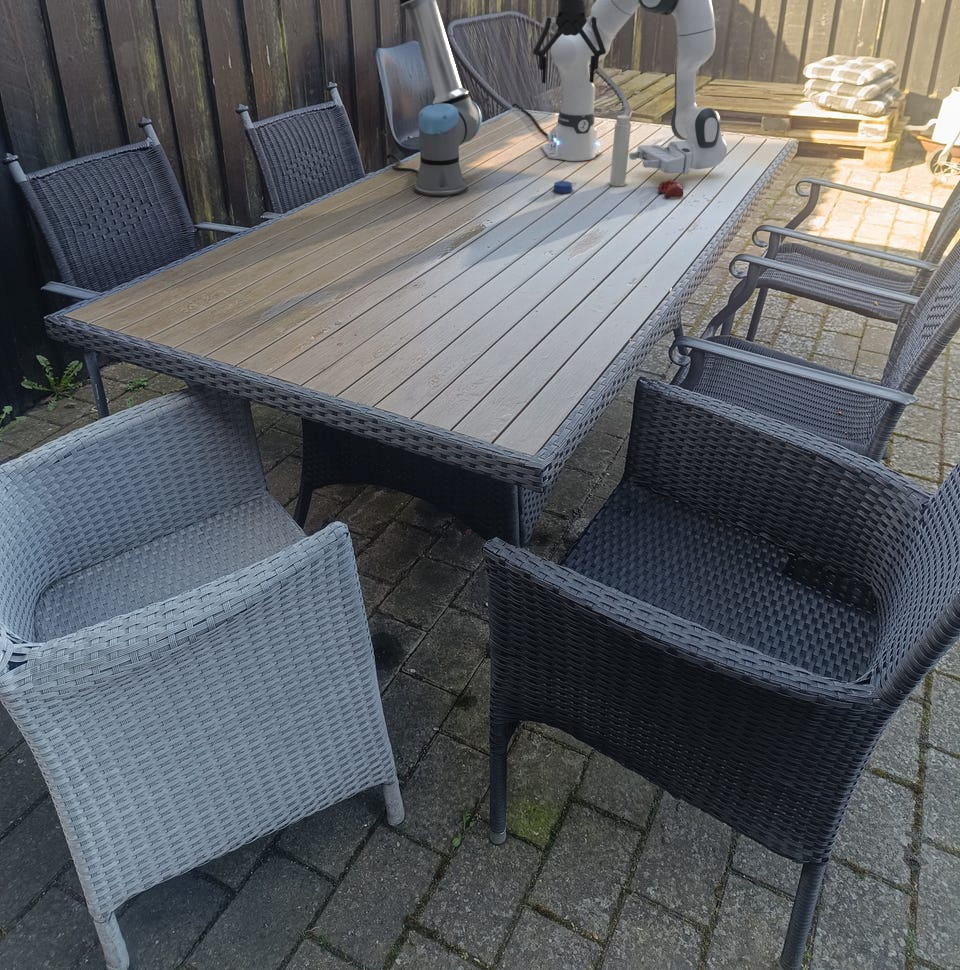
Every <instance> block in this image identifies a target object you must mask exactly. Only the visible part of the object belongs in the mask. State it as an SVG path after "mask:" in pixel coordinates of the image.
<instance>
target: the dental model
mask: <svg viewBox="0 0 960 970" xmlns="http://www.w3.org/2000/svg"><path fill="white" fill-rule="evenodd" d="M657 189H658V190H657V191H658V192H657V193H658V194H659V193H664V198H665V199H670V198H680V197H683V196H684V189H683V188H682V185H681V183H679V182H676V181H674V180H673V179H665V180H663V181H661V182H660V183H659V185H658V188H657Z"/></svg>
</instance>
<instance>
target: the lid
mask: <svg viewBox="0 0 960 970" xmlns="http://www.w3.org/2000/svg"><path fill="white" fill-rule="evenodd" d="M572 191H573V182H571V181H567V180H559V181H555V182H553V192H555V193H556V194H560V195H561V194H562V195H564V194H571V193H572Z"/></svg>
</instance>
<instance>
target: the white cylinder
mask: <svg viewBox="0 0 960 970" xmlns="http://www.w3.org/2000/svg"><path fill="white" fill-rule="evenodd" d="M631 128H632V123H631V116H630V115H625V114H624V115H623V114H622V115H621V114H620V115H617V116H616V122H615V123H614V129H613V130H614V132H613V142H612V153H611V154H612V155H611V166H610V168H611V169H610V177H609V185H610V186H612V187H624V186H626V178H627V169H628V159H629V148H630V140H631V139H630V138H631Z"/></svg>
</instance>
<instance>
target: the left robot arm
mask: <svg viewBox="0 0 960 970" xmlns="http://www.w3.org/2000/svg"><path fill="white" fill-rule="evenodd" d="M399 3H400V7H402V8H403V9H405V10H406V11H408V12H407V13H408V14H409V17H410V18H409V19H410V21H411V24H412V28H413V31H414V34H415V36H416V39H417V43H418V46H419V49H420V53H421V56H422V59H423V62H424V65H425V68H426V71H427V74H428V77H429V80H430V85H431V88H432V91H433V94H434V98H433V102H432V104H429V105H427V106H425V107H422V109H421V110H420V111H419V113H418V122H417V124H418V136H419V138H418V139H419V157H420V158H419V159H420V161H419V162H420V164H419V168H418V170H417V169H415V168H411V167H399V165H400V163H401V160H400V159H399V157H398V156H397V155H395V154H393V153H388V154H387V155H386V159H390V158H393V159H394V160H395V161H396V162H395V163H393V164H392V165H394V164H395V165H394V166H391V168H392V169H393V170H395V171H399V172H411V173H415V174H417V176H416V180H415V185H414V186H415V192H417V193H418V194H420V195H424V196H430V197H450V196H455V195H459V194H461V193H463V192H464V191H466V181H465V179H464V176H463V172H462V169H461V165H460V146H461V145H463V144H465V143H468V142H470V141H471V140H472V139H473V138H474V137H476V136H477V135H478V133H479V132H480V130H481V128H482V125H483V115H482V112H481V109H480V106H478V104H477V103H476V102H475V101H473V99H472V98H471V95H470V92H469V90H468V89H466V88H464V87H463V85H462V82H461V79H460V75H459V73H458V69H457V66H456V63H455V59H454V55H453V51H452V49H451V46H450V44H449V39H448V36H447V32H446V28H445V26H444V23H443V19H442V16H441V13H440V10H439V6H438V2H437V0H399ZM586 6H587V0H557V15H556V17H551V16H549V15H547V16H546V17H545V20H544V21H545V22H544V26H543V28H542V31H541V32H540V35H539V37H538V38H537V40H536V43H535V45H534V47H533V49H532V53H533V55H534V56H537V57H538V69H539V71H542V73H541V83H542V84H546V82H547V56H546V55H547V53H548V52H549V51H550V50H551V47H552V45H553V44H554V43H555V42H556V40H557V39H558V38H559V37H560V36H561V35H562V34H563V35H565V36H568V35H573V36H575V35H577V34H580V35H581V36H582V38H583V39H584V41H585V42H586V44H587V45H588V47H589V48H590V49H591V51H592V52H593V54H594V56H591V64H590V65H589V73H590V79H589V81H590V83H593V84H594V79H595V78H594V77H595V70H598V69H599V62H600V61H599V56H600V55H603V54H605V53H606V50H605V48H604V45H603V42H602V39H601V37H600V34H599V31H598V29H597V23H596V17H594V16H592V17H589V16H588V17H587V16H586ZM586 22H587V23H588V24H589V26H591V27H592V30H593V33H594V36H595V38H596V41H597V44H598V46H599V49H600V50H598V51H597V50H596V48H595V47H594V45H593V44H592V42H591V41H590V39H589V38H588V36H587V35H586V34H585V32H584V31H583V29H582V28H583V27H584V25H585V24H586ZM554 24H556V26H557V27H558V28H557V29H556V30H555V31H554V33H553V34H552V36H551V37H550V38H549V39H548V41H546V43H545V44H544V41H545V39H546V38H547V35H548V33H549V31H550V28H551V27H553V25H554ZM543 44H544V46H543V47H542V45H543Z"/></svg>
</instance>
